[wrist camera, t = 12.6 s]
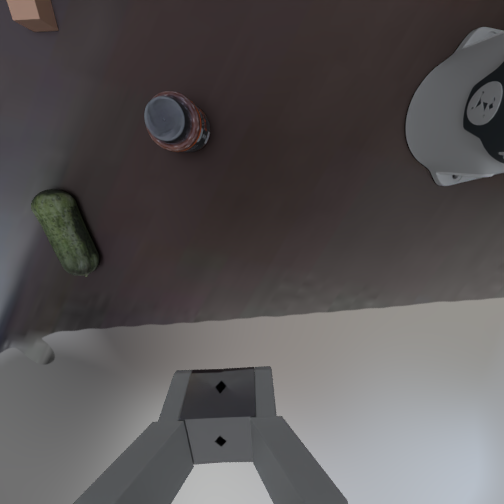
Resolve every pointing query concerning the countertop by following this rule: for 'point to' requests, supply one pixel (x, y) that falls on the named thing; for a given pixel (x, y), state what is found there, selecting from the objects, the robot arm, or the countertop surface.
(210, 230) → the countertop surface
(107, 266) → the countertop surface
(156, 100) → the supplement bottle
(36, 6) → the board
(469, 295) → the countertop surface
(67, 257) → the vegetable
